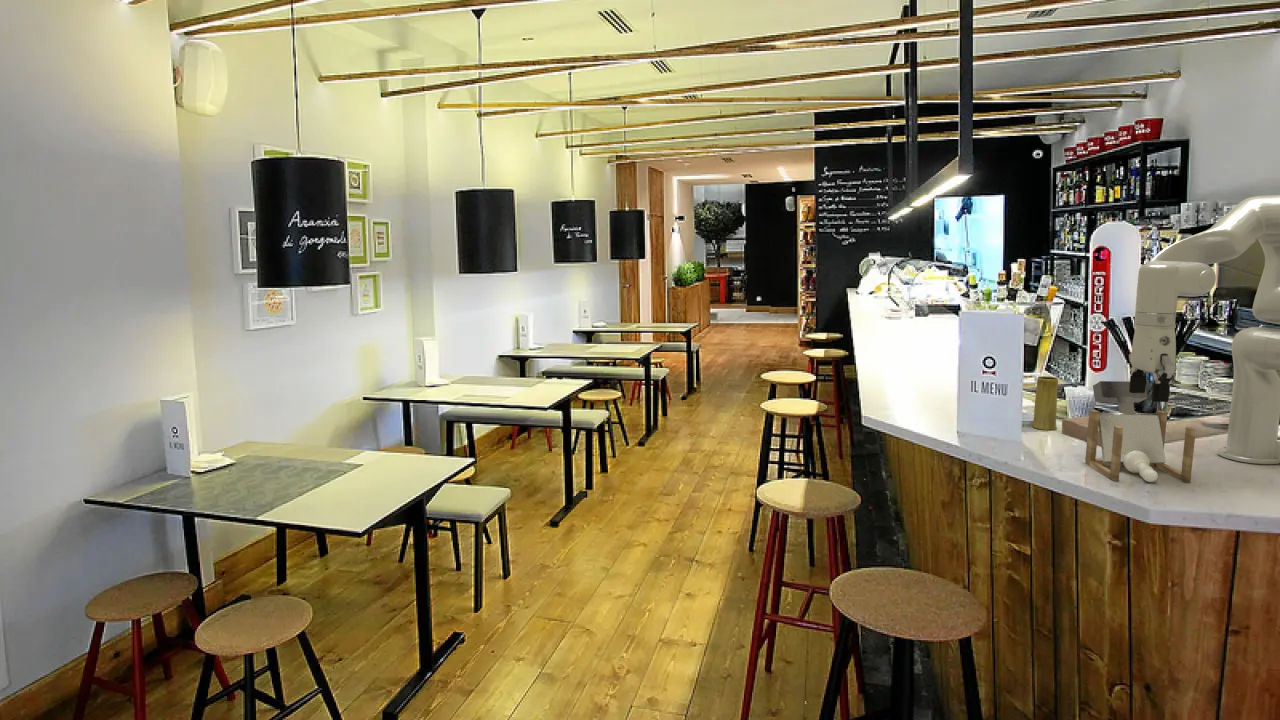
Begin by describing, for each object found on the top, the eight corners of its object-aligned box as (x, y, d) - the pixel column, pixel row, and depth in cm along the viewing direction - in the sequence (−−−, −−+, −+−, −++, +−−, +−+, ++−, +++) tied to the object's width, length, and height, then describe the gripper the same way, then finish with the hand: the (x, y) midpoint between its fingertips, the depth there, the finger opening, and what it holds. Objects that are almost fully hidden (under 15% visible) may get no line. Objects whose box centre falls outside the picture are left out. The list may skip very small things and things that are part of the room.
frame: (1156, 464, 188) (1161, 410, 186) (1190, 482, 175) (1196, 424, 173) (1085, 463, 190) (1089, 409, 188) (1113, 480, 176) (1117, 423, 174)
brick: (1134, 447, 205) (1135, 429, 204) (1105, 449, 203) (1107, 431, 202) (1086, 432, 221) (1087, 415, 220) (1059, 434, 219) (1060, 417, 219)
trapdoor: (1086, 385, 193) (1094, 380, 189) (1143, 386, 192) (1152, 381, 188) (1096, 464, 187) (1105, 461, 183) (1155, 466, 186) (1165, 462, 182)
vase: (1057, 426, 226) (1061, 377, 224) (1055, 431, 221) (1059, 380, 218) (1033, 424, 229) (1036, 375, 227) (1030, 428, 224) (1034, 378, 222)
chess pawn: (1151, 458, 182) (1170, 476, 173) (1135, 474, 183) (1153, 492, 175) (1134, 446, 181) (1152, 463, 173) (1117, 462, 183) (1135, 480, 175)
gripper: (1195, 324, 166) (1188, 405, 169) (1152, 316, 183) (1146, 389, 186) (1157, 324, 167) (1150, 405, 169) (1117, 316, 184) (1111, 389, 186)
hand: (1148, 397), depth 178 cm, fingers open, 9 cm apart
